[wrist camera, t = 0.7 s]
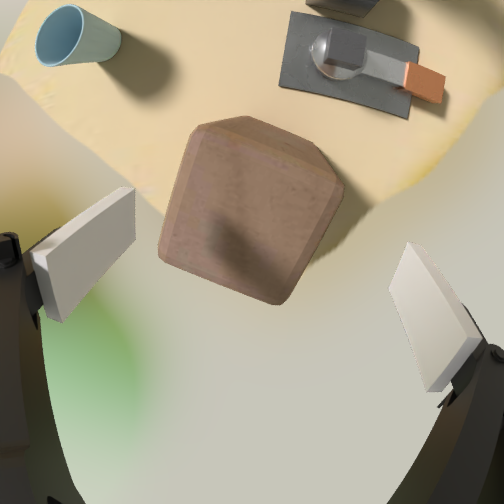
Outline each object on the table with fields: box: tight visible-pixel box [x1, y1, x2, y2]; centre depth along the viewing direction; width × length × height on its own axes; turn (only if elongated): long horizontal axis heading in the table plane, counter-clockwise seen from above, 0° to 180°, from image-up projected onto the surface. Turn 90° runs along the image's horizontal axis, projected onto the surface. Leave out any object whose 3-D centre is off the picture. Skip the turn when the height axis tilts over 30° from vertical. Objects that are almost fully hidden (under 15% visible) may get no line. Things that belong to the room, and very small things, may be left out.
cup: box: [35, 4, 121, 67], centre depth 25 cm, size 8×8×10 cm
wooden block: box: [158, 116, 344, 305], centre depth 27 cm, size 10×10×20 cm
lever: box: [278, 11, 446, 118], centre depth 26 cm, size 10×19×7 cm, turn 81°
